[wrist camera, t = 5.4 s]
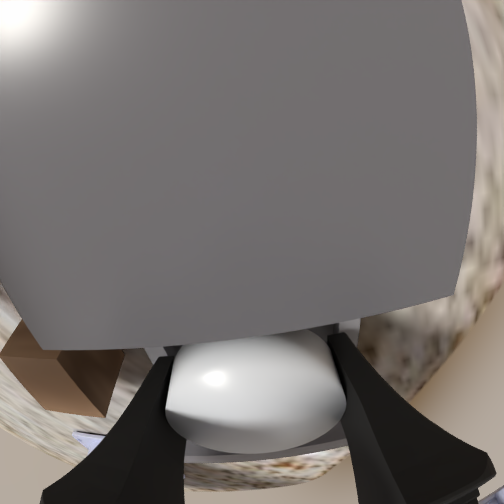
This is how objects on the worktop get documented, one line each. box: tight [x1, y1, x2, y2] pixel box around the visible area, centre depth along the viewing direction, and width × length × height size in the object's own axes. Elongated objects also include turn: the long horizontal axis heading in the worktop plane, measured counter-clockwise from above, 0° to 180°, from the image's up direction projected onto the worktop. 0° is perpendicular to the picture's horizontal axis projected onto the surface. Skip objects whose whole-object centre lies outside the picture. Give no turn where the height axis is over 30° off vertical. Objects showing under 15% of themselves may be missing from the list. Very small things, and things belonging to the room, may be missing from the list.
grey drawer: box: [144, 318, 361, 463], centre depth 11 cm, size 11×11×5 cm
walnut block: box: [0, 319, 125, 418], centre depth 11 cm, size 4×4×4 cm
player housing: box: [0, 0, 477, 350], centre depth 6 cm, size 10×11×6 cm
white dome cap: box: [165, 329, 346, 454], centre depth 9 cm, size 6×6×2 cm
